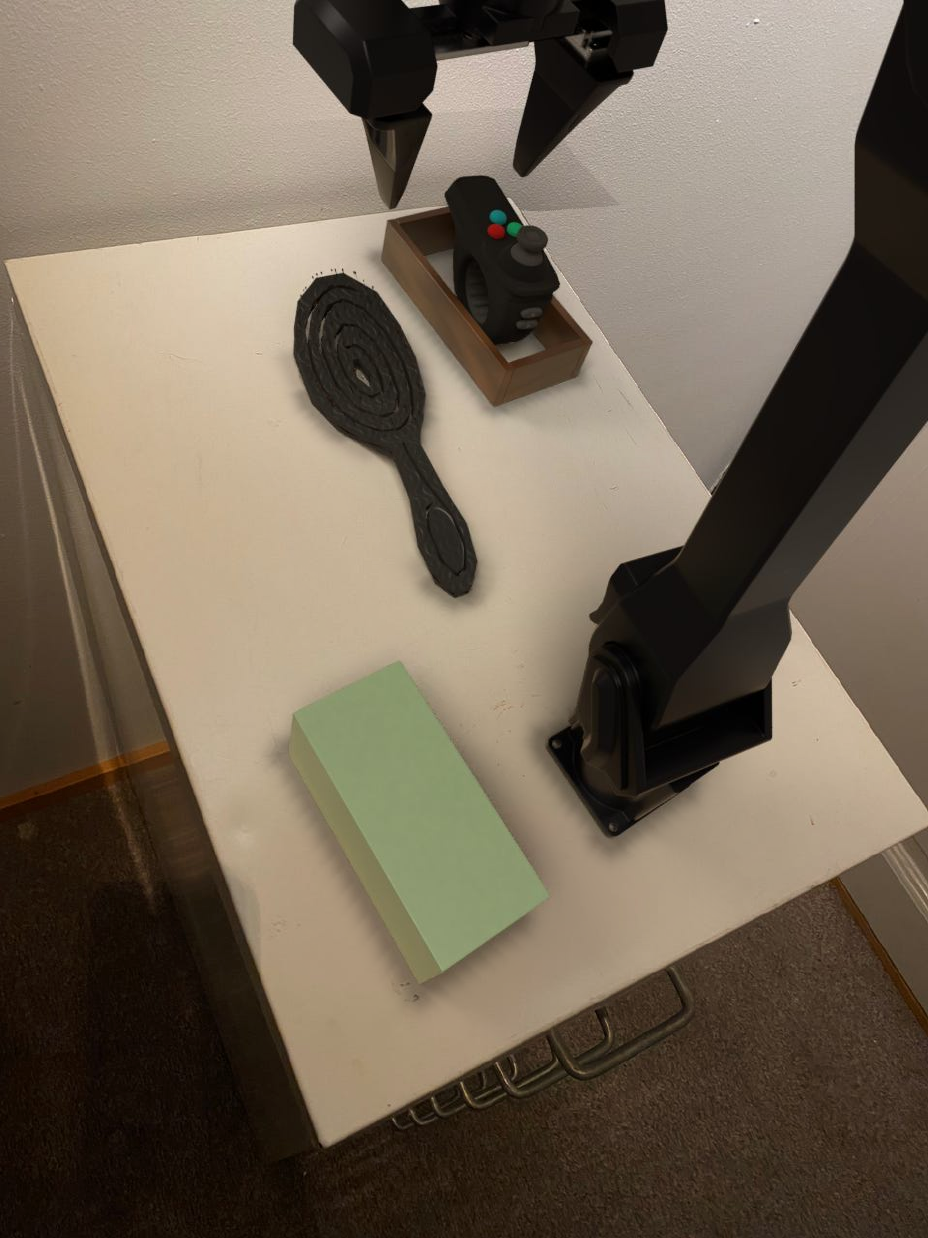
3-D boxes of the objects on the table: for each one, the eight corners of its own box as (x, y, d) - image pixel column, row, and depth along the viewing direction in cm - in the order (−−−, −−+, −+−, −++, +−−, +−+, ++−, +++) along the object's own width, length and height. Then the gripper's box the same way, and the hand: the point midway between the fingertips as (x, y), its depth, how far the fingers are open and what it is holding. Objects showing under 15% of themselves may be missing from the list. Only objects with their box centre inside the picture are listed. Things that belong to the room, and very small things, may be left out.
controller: (483, 381, 60) (521, 267, 52) (422, 263, 65) (448, 140, 56) (535, 373, 62) (580, 261, 53) (472, 258, 66) (504, 138, 58)
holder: (577, 376, 62) (593, 341, 59) (493, 407, 59) (506, 371, 56) (464, 238, 67) (473, 199, 64) (380, 259, 64) (386, 219, 61)
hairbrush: (408, 592, 47) (273, 268, 55) (397, 619, 50) (271, 310, 58) (533, 558, 50) (389, 257, 58) (515, 586, 53) (381, 297, 61)
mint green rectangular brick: (516, 917, 43) (551, 896, 38) (419, 984, 40) (442, 972, 35) (384, 704, 47) (400, 659, 42) (288, 753, 44) (292, 712, 39)
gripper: (590, -254, 40) (505, 78, 53) (230, -269, 32) (237, 125, 45) (739, -129, 37) (609, 190, 50) (381, -111, 29) (340, 262, 42)
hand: (456, 187), depth 47 cm, fingers open, 9 cm apart
